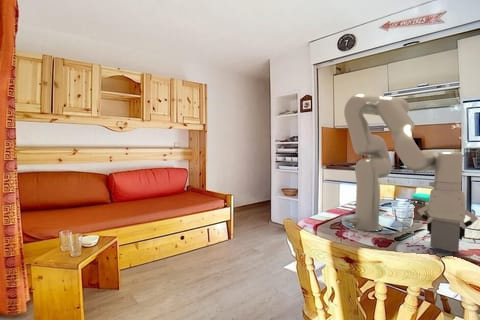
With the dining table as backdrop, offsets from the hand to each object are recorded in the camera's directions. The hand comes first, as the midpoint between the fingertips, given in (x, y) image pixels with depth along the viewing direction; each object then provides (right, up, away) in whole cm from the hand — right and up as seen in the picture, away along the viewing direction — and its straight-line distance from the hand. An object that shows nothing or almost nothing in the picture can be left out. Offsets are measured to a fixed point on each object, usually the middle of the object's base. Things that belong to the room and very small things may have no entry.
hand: (445, 235), depth 94 cm
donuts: (+28, -2, +52) cm, 59 cm away
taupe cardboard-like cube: (0, -4, 0) cm, 4 cm away
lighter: (+18, -3, +41) cm, 45 cm away
